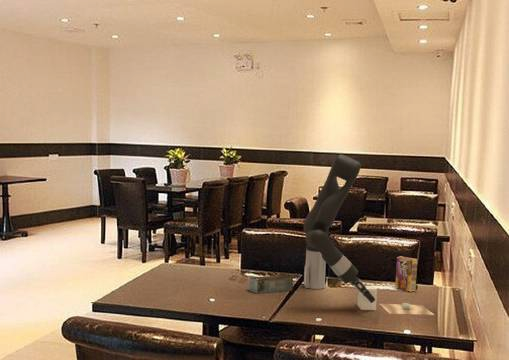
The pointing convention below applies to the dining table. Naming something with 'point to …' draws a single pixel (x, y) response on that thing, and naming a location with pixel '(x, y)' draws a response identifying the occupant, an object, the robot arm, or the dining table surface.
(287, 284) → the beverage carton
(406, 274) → the candy box
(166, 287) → the dining table surface
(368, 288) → the white upright block
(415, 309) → the board
